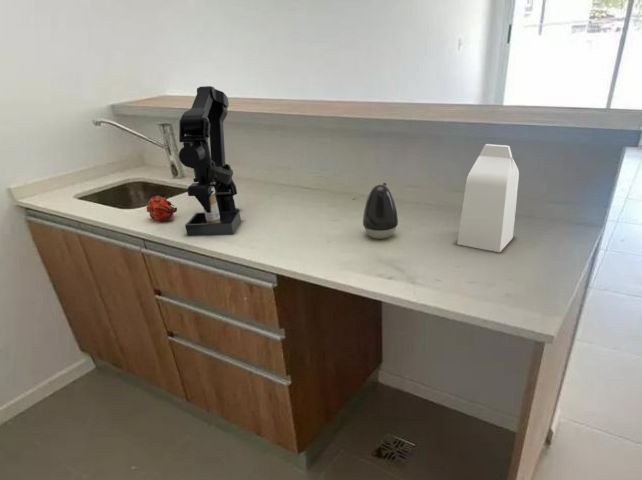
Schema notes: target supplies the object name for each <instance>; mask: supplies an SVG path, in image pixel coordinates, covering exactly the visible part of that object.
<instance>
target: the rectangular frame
mask: <svg viewBox="0 0 642 480" xmlns="http://www.w3.org/2000/svg"><path fill="white" fill-rule="evenodd" d="M219 215H220V221H221V223H208V224H207V220H206V217H205V212H204V211H202V212H195V213H194V214H193V215H192V217H191V218H190V219H189V220H188V221H187V222H186V223H185V224H184V226H185V230H186V235H187V236H188V237H190V236H191V237H192V236H193V237H194V236H216V235H217V236H218V235H221V236H222V235H234V233H235V232H236V230H237V229H238V227H239V225H240V224H241V221H242V219H241V213H240V210H239V211H229V212H219Z"/></svg>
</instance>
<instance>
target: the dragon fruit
mask: <svg viewBox="0 0 642 480" xmlns="http://www.w3.org/2000/svg"><path fill="white" fill-rule="evenodd" d="M177 211H178V207H175V205H173V204H172V202H171V201H170V200H168V198H166V197H165V196H164V197H162V196H160V195H155V196H152V197H151V198H150V199H149V200H148V202H147V206H146V212H147V213H148V214H149V216H150V218H151V219H152V220H153V221H154V220H156V219H157V220H158V221H160V222H164V223H165V222H168V220H167V219H169V218H171V219H172V218H173V217H174V216H175V215H174V213H176V212H177Z"/></svg>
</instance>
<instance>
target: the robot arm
mask: <svg viewBox="0 0 642 480" xmlns="http://www.w3.org/2000/svg"><path fill="white" fill-rule="evenodd" d="M229 107H230V105H229V98H228V96H227V95H226V93H225V92H224V91H221V90H220V89H216V88H215V87H214V86H211V85H205V86H199V87H197V88H196V95H195V98H194V99H193V102H192V105H191V108H190V109H188V110H185V111H184V112H183V113H182V114H181V117H180V119H179V124H178V125H179V126H178V127H179V128H178V129H179V132H178V133H179V134H178V142H179V143H182V144H183V147H182V148H181V149H180V150H179V153H178V159H179V162H180V163H181V164H182V165H183V166H184V167H186V168H190V169H193V173H194V178H193V183H191V184H190V185H189V186H188V187H187V188H186V191H187V196H188V197H195V199H196V200H197V201H198V202H199V204H200V205H201V206H202V208H203V210H204V209H205V210H206V212H207V213H210V212H211V202H210V196H211V194H212V193H213V192H214V191H211V186H214V189H215V197H216V201H217V205H218V210H219V212H229V211H239V212H240V209H239V208H237V207H236V204H235V199H234V196H235V195H238V190H237V185H236V184H235V182H234V180H233V176H234V170H233V169H232V167H231V164H228V163H226V150H225V135H224V134H225V132H224V131H225V130H224V122H225V119H226V118H227V116H228V108H229Z"/></svg>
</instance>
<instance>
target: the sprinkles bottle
mask: <svg viewBox="0 0 642 480" xmlns="http://www.w3.org/2000/svg"><path fill="white" fill-rule="evenodd" d="M211 191H214V192H213V193H212V194H211V196H210V202H211V212H210V213H207V212H206V210H205V209H204V208H203V212H205V217H206V220H207V223H206V224H208V223H221V221H220V215H219V210H218V205H217V201H216V197H215V189H214V186H211Z"/></svg>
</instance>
